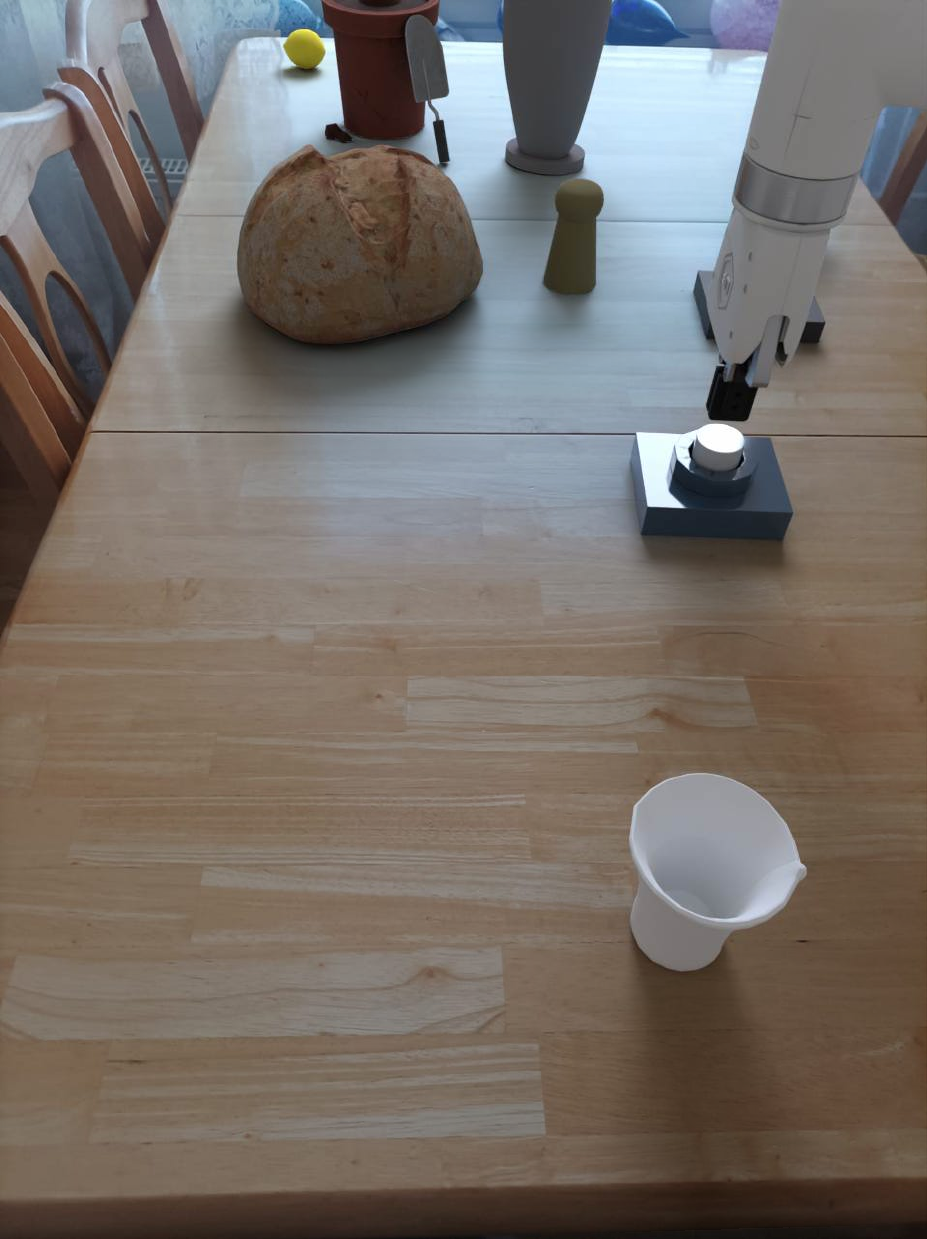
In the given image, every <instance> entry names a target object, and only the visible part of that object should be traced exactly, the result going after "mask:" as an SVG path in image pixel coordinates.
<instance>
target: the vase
mask: <svg viewBox="0 0 927 1239" xmlns="http://www.w3.org/2000/svg"><path fill="white" fill-rule="evenodd" d="M612 8H613V0H503V7H502V58H503V68H504V75H505V83H506V88H507V94H508V99H509V105H510V110H511V111H510V112H511V116H512V122H513V126H514V127H513V128H514V133H515V137H514V138H512V139H510V140H508V141H507V142H506V143H505V155H504V158H505V160H506V162H507V163H509V165H511V166H513V167H514V168H517V169H520V170H523V171H525V172H529V173H534V174H540V175H549V176H550V175H551V176H552V175H553V176H554V175H555V176H556V175H557V176H560V175H568V174H569V175H570V174H573V173H576V172H577V173H578V172H579V171H581V170H582V169H583V167H584V163H585V158H586V157H585V156H586V151H585V149H584V148H583V147H581V146H580V145H579V144H577V143H576V141H577V140H578V137H579V134H580V131H581V129H582V126H583V122H584V118H585V115H586V112H587V110H588V109H587V108H588V106H589V102H590V98H591V94H592V91H593V88H594V84H595V80H596V76H597V72H598V69H599V64H600V61H601V58H602V53H603V50H604V45H605V41H606V36H607V33H608V29H609V24H610V20H611V14H612Z"/></svg>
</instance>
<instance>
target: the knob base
mask: <svg viewBox="0 0 927 1239" xmlns="http://www.w3.org/2000/svg"><path fill="white" fill-rule="evenodd" d="M713 272H714V270H704V269H703V270H697V273H696V278H695V281H694V285H693V295H694V298H695V302H696V306H697V310H698V313H699V318H700V321H701V325H702V329H703V333H704V337H705V339H706V340H716V339H715V336H714V332H713V329H712V325H711V321H710V317H709V313H708V309H707V293H708V289H709V285H710V282H711V278H712V275H713ZM826 323H827V322H826V320H825V317H824V315H823V313H822V311H821V308H820V306H819V304H818V301H817V299H816V297H815V295H814V297H813V301H812V304H811V308H810V311H809V314H808V317H807V321H806V324H805V327H804V330H803V333H802V336H801V338H800V341H799V344H800V343H801V344H819V343H820V340H821V337H822V335H823V332H824V329H825V326H826Z"/></svg>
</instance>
